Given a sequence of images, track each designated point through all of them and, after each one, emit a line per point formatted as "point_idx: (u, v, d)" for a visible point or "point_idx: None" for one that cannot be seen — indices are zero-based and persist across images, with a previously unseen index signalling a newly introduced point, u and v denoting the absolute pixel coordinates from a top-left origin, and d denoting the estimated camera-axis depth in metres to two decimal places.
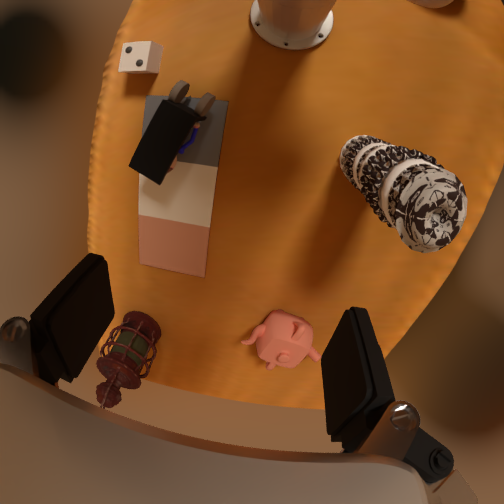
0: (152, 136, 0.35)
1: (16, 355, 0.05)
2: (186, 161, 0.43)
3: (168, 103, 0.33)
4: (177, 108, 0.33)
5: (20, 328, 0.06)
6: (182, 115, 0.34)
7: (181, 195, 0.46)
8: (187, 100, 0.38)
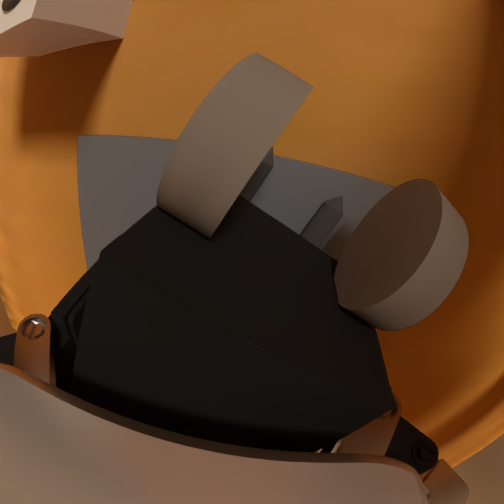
0: None
1: (33, 353, 0.05)
2: None
3: (164, 302, 0.04)
4: (259, 357, 0.04)
5: (40, 326, 0.06)
6: (302, 395, 0.04)
7: None
8: (258, 171, 0.09)
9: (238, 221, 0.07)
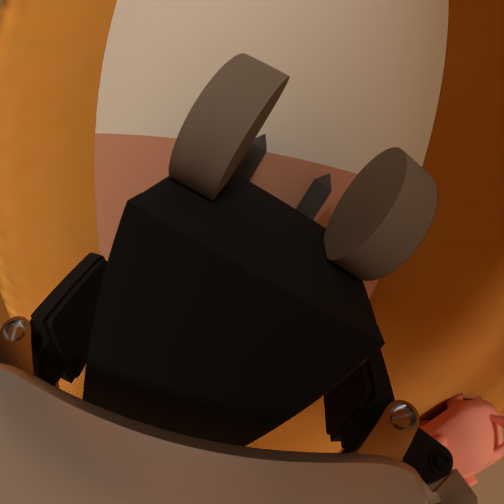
0: (126, 384, 0.07)
1: (17, 355, 0.05)
2: None
3: (176, 238, 0.05)
4: (254, 284, 0.05)
5: (21, 328, 0.06)
6: (295, 326, 0.05)
7: (311, 34, 0.08)
8: (253, 155, 0.10)
9: (236, 192, 0.08)
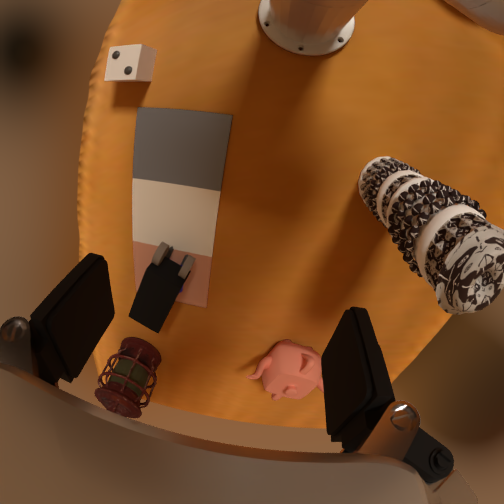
0: (144, 298, 0.41)
1: (16, 355, 0.05)
2: (184, 184, 0.39)
3: (152, 273, 0.39)
4: (161, 278, 0.39)
5: (20, 328, 0.06)
6: (167, 284, 0.40)
7: (179, 221, 0.42)
8: (170, 251, 0.44)
9: (163, 262, 0.42)
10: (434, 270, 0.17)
